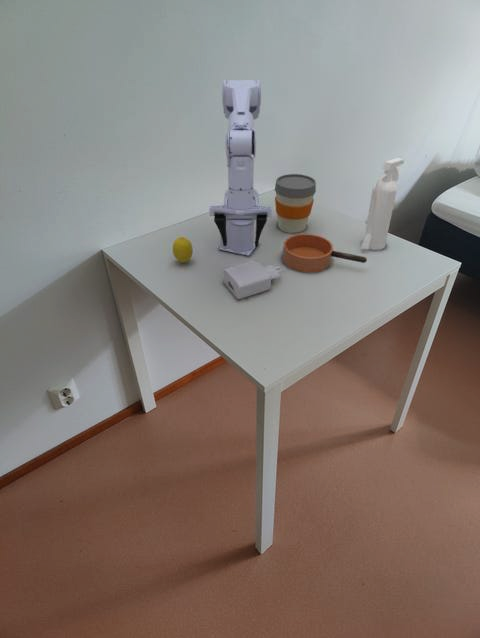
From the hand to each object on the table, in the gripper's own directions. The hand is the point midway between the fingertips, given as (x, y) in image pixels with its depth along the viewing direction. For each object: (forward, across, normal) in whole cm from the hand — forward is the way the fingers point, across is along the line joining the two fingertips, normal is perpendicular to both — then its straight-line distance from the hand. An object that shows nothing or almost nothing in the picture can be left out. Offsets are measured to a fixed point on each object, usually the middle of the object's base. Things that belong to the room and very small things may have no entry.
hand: (240, 245), depth 99 cm
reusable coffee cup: (+6, +15, +36) cm, 40 cm away
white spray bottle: (+8, +38, +25) cm, 46 cm away
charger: (+12, +4, +4) cm, 13 cm away
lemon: (+10, -17, +13) cm, 24 cm away
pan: (+10, +18, +16) cm, 26 cm away
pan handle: (+8, +29, +12) cm, 32 cm away
